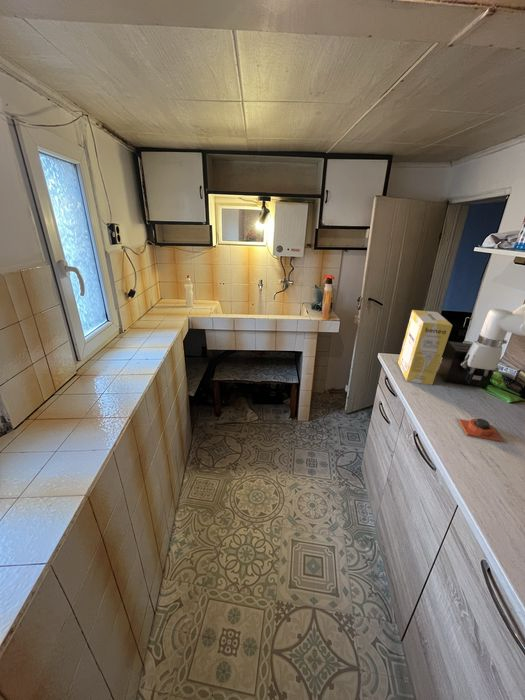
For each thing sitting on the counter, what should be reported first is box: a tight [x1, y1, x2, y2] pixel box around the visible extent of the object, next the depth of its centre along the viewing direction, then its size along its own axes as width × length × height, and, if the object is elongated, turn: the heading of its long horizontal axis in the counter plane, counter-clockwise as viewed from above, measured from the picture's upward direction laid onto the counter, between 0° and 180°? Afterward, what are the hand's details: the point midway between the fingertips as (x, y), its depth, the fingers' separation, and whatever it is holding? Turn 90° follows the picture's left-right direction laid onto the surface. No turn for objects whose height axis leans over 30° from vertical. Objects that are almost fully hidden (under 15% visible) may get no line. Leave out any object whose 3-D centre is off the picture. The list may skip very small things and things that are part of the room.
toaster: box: [437, 340, 495, 389], centre depth 124 cm, size 16×11×16 cm
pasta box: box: [397, 309, 453, 386], centre depth 125 cm, size 18×10×28 cm, turn 167°
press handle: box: [467, 370, 482, 380], centre depth 116 cm, size 3×6×2 cm, turn 164°
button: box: [475, 418, 491, 430], centre depth 94 cm, size 4×4×2 cm
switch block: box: [458, 418, 503, 443], centre depth 94 cm, size 10×8×3 cm
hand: (473, 381), depth 116 cm, fingers closed on press handle, 3 cm apart
